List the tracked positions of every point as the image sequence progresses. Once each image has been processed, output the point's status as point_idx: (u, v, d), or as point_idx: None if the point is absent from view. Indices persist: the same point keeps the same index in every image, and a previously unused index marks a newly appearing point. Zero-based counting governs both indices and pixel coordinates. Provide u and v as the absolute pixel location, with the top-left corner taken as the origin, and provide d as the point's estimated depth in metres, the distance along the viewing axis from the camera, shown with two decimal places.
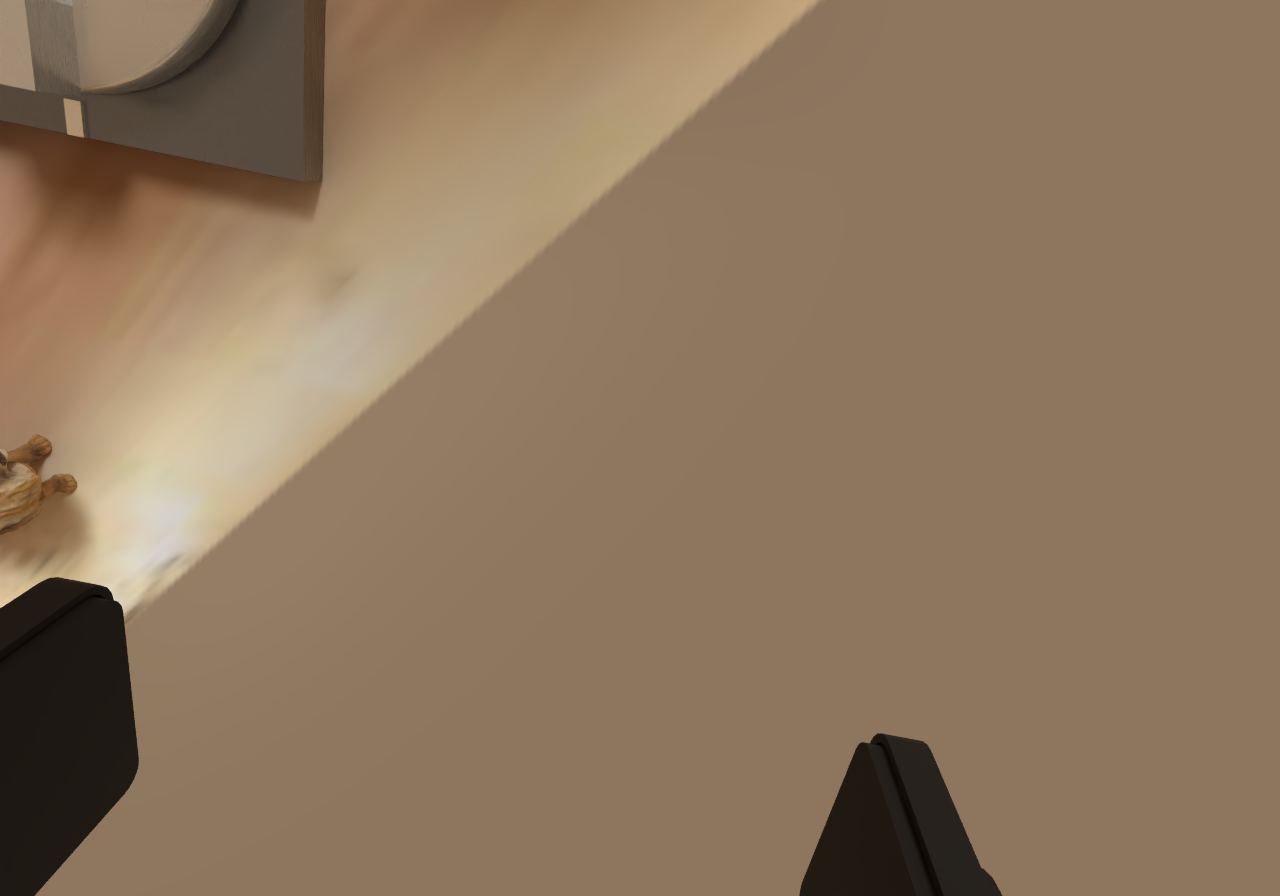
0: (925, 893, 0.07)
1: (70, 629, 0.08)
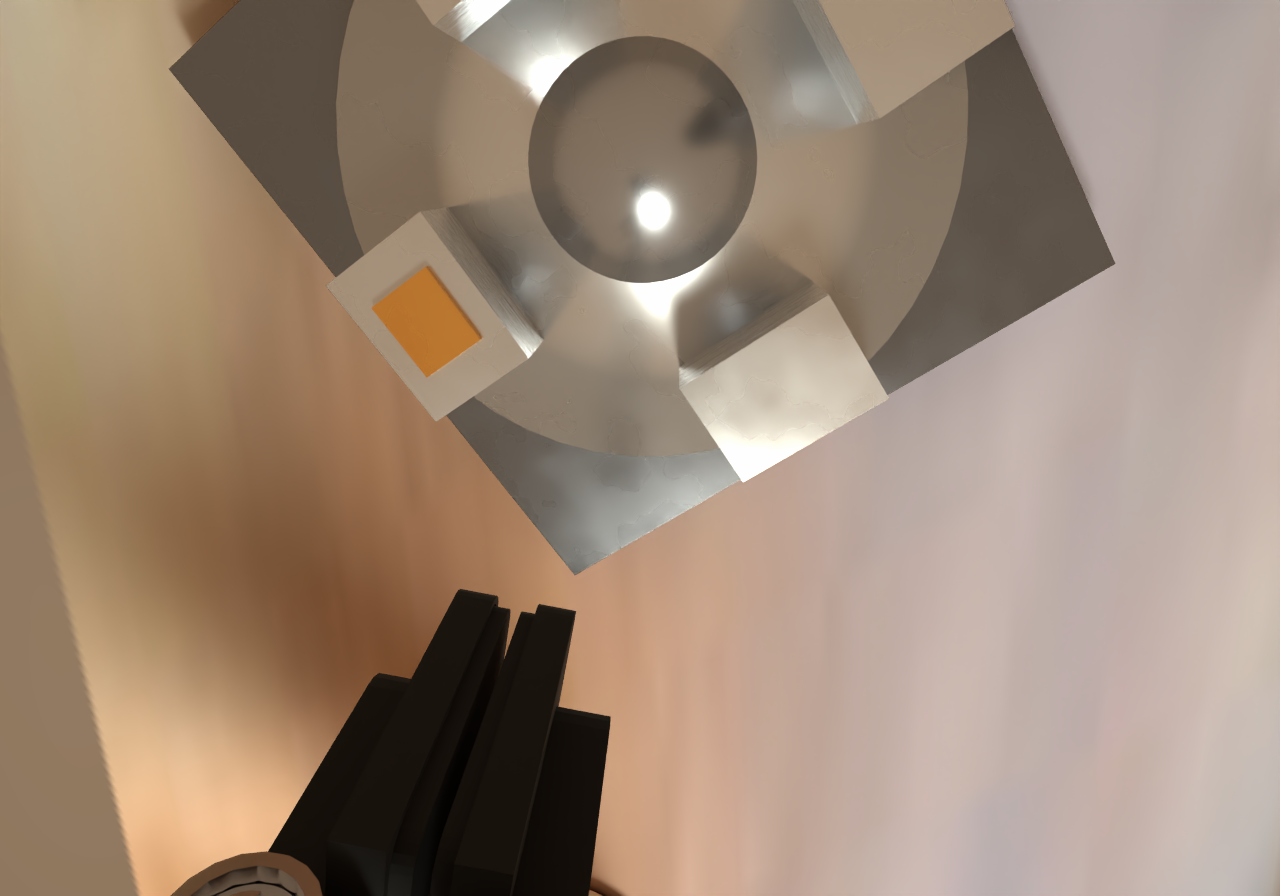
0: (496, 711, 0.08)
1: (495, 634, 0.09)
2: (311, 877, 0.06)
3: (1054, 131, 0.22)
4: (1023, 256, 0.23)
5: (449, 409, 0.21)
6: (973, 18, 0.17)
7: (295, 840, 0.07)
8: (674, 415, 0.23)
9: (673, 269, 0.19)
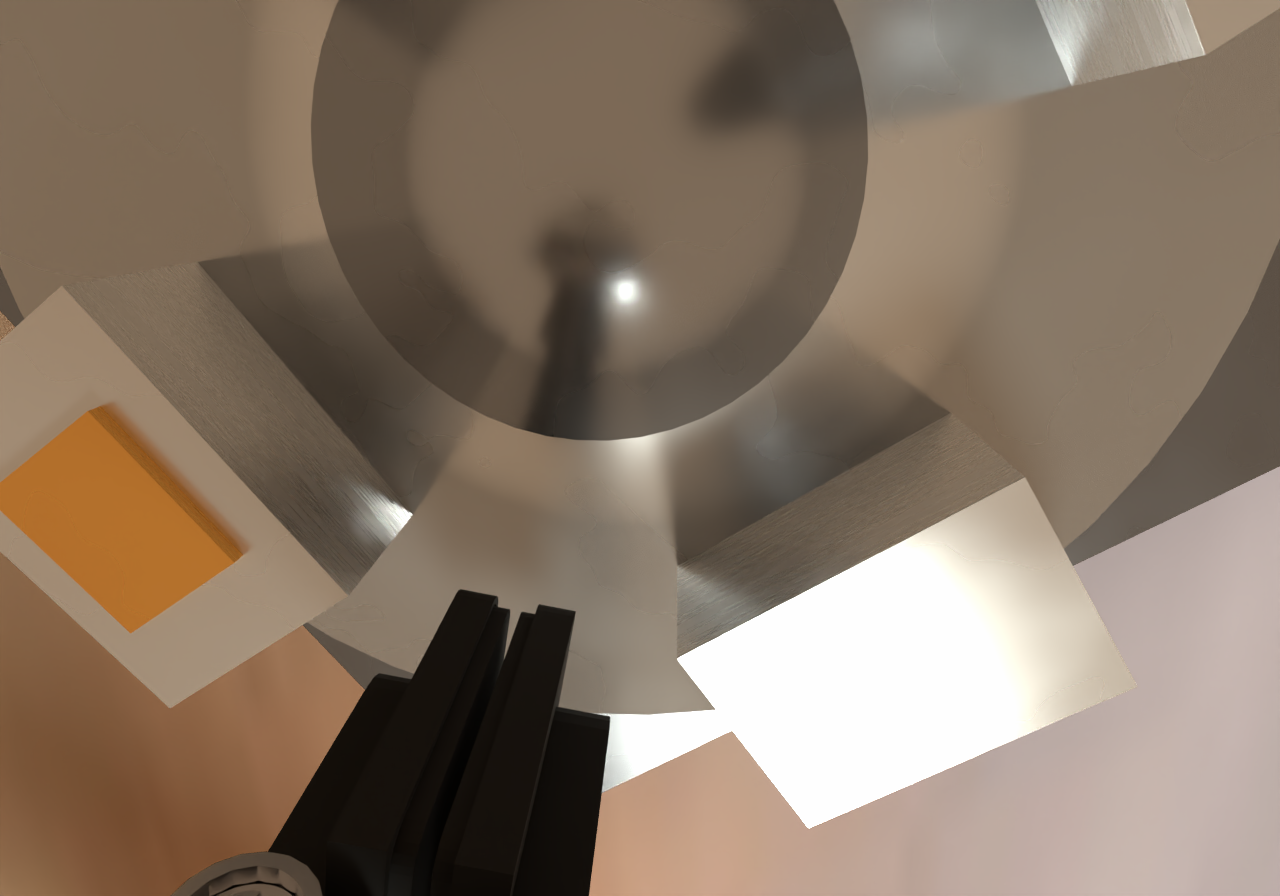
0: (496, 712, 0.08)
1: (495, 634, 0.09)
2: (311, 877, 0.06)
3: None
4: None
5: (193, 686, 0.10)
6: None
7: (295, 840, 0.07)
8: (667, 648, 0.12)
9: (663, 412, 0.09)
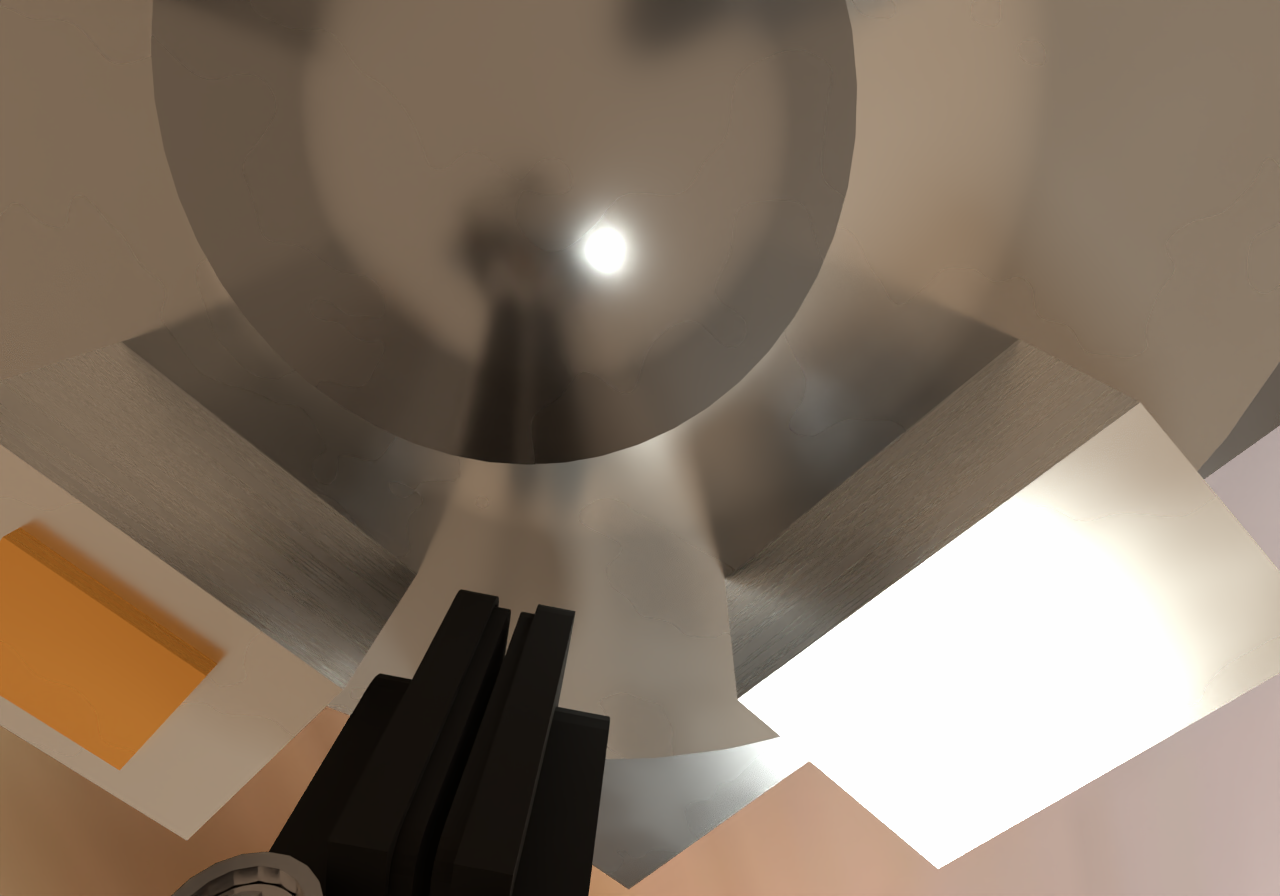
0: (496, 711, 0.08)
1: (495, 634, 0.09)
2: (312, 877, 0.06)
3: None
4: None
5: (205, 814, 0.09)
6: None
7: (296, 840, 0.07)
8: (733, 673, 0.10)
9: (659, 410, 0.07)
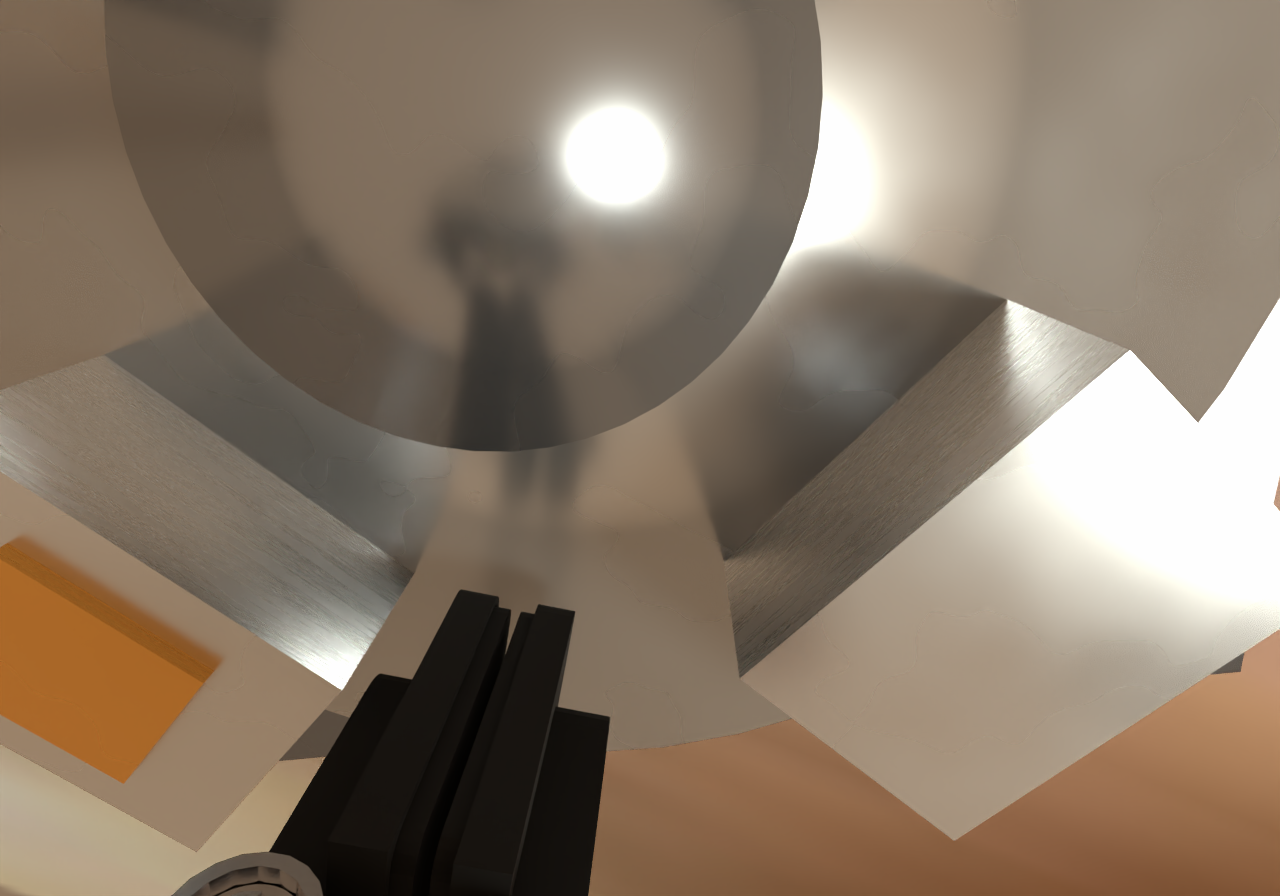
0: (495, 712, 0.08)
1: (496, 635, 0.09)
2: (312, 878, 0.06)
3: None
4: None
5: (212, 824, 0.09)
6: None
7: (296, 840, 0.07)
8: None
9: (642, 387, 0.07)
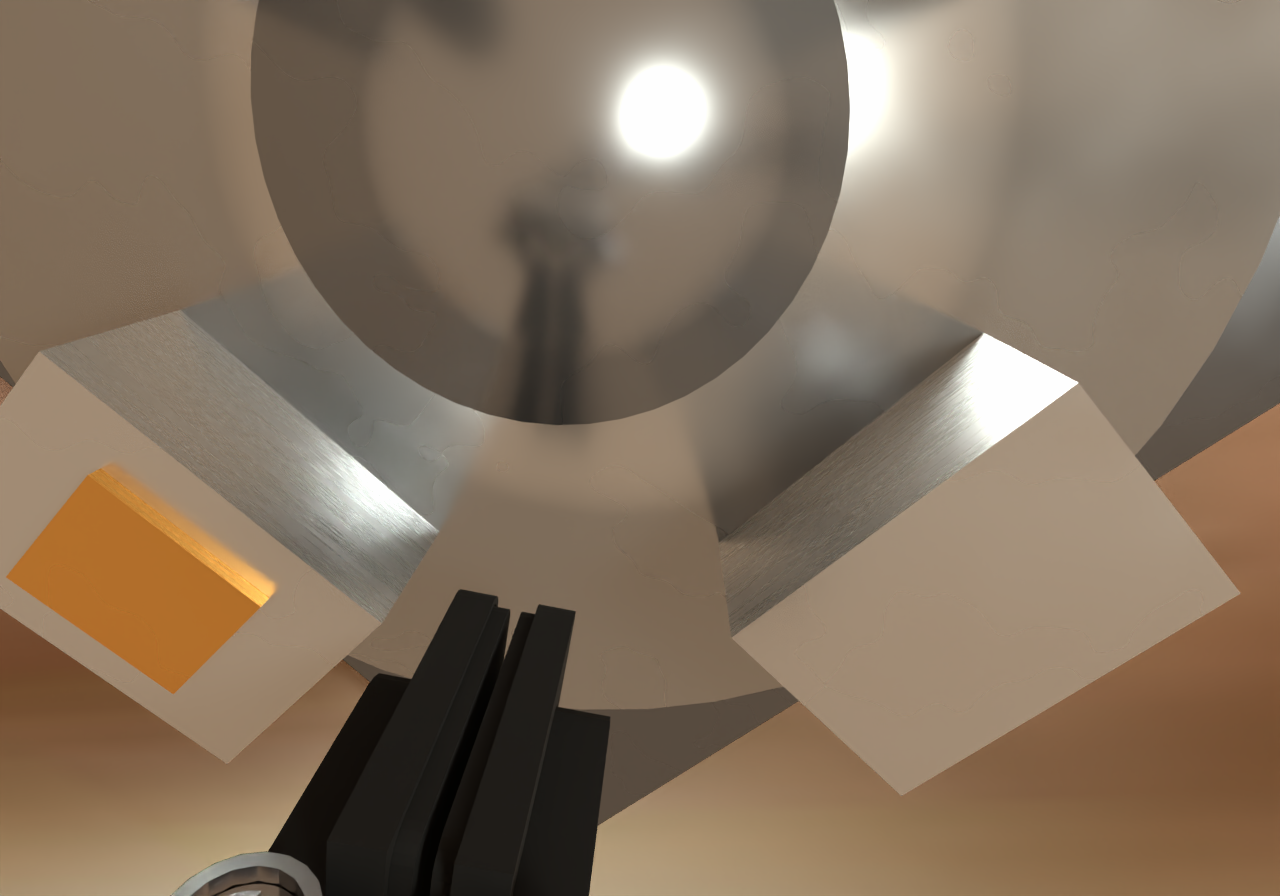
0: (496, 712, 0.08)
1: (495, 634, 0.09)
2: (311, 877, 0.06)
3: None
4: None
5: (246, 739, 0.10)
6: None
7: (295, 840, 0.07)
8: (723, 630, 0.12)
9: (672, 379, 0.08)
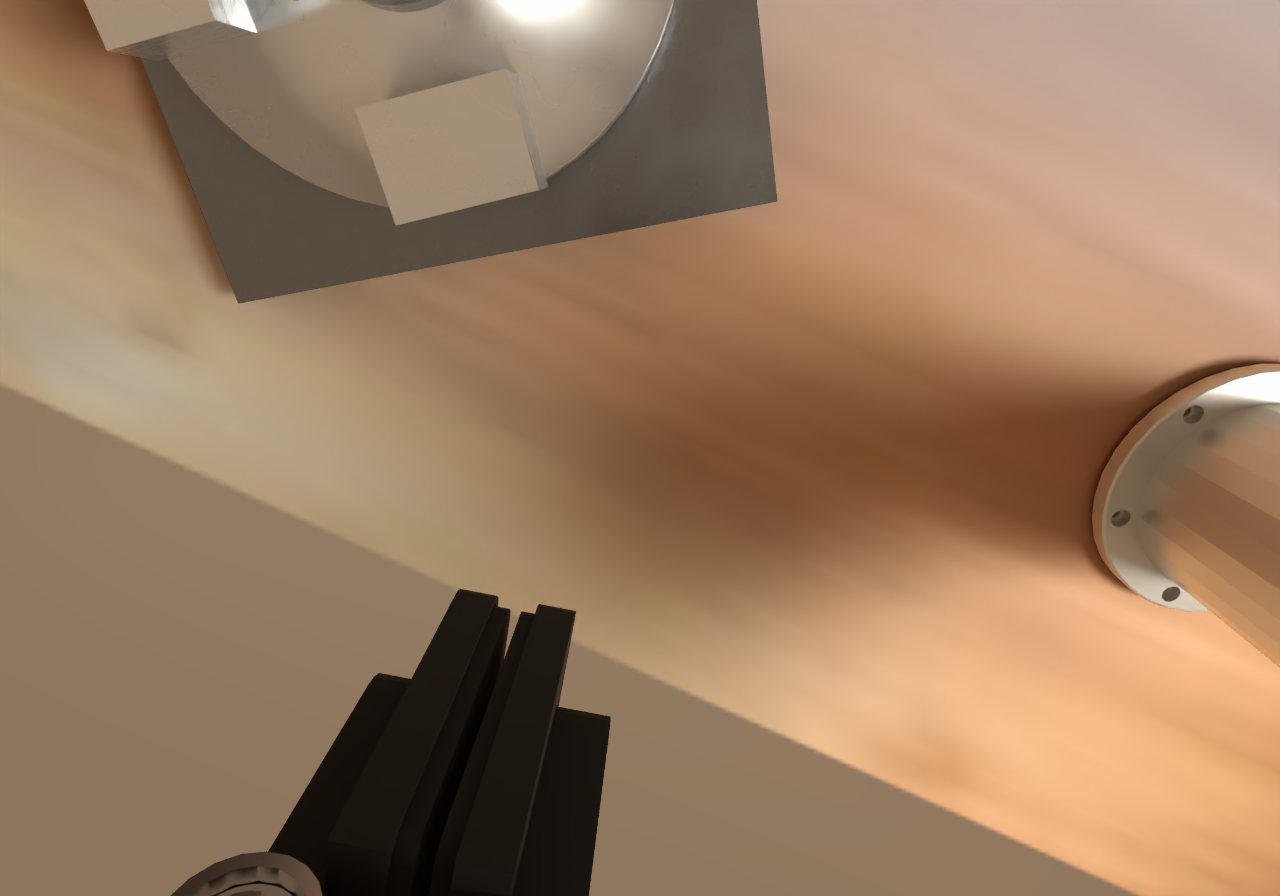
0: (496, 712, 0.08)
1: (495, 634, 0.09)
2: (311, 877, 0.06)
3: None
4: None
5: (123, 42, 0.21)
6: None
7: (295, 840, 0.07)
8: (367, 160, 0.24)
9: None
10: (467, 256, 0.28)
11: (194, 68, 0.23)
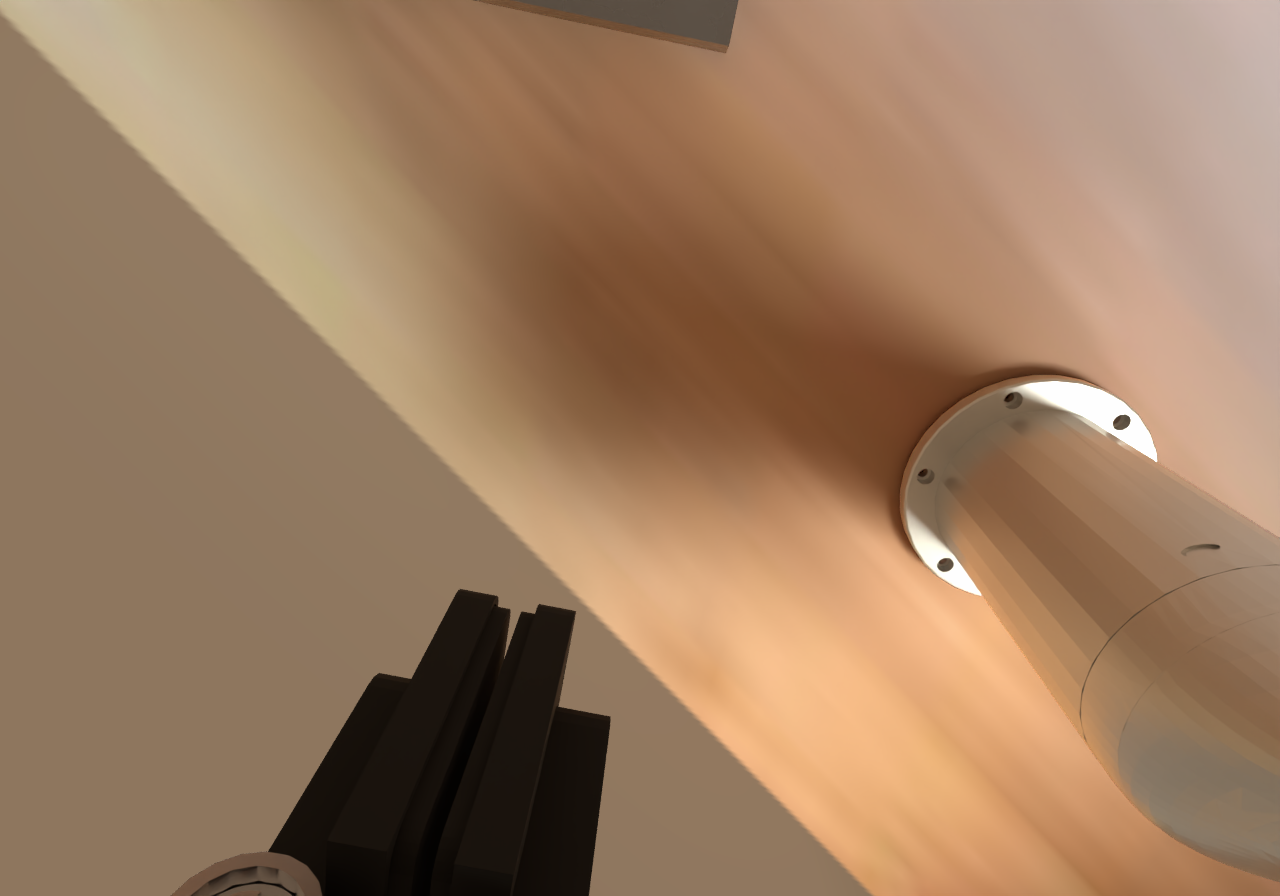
0: (496, 712, 0.08)
1: (495, 634, 0.09)
2: (311, 877, 0.06)
3: None
4: None
5: None
6: None
7: (295, 840, 0.07)
8: None
9: None
10: None
11: None
